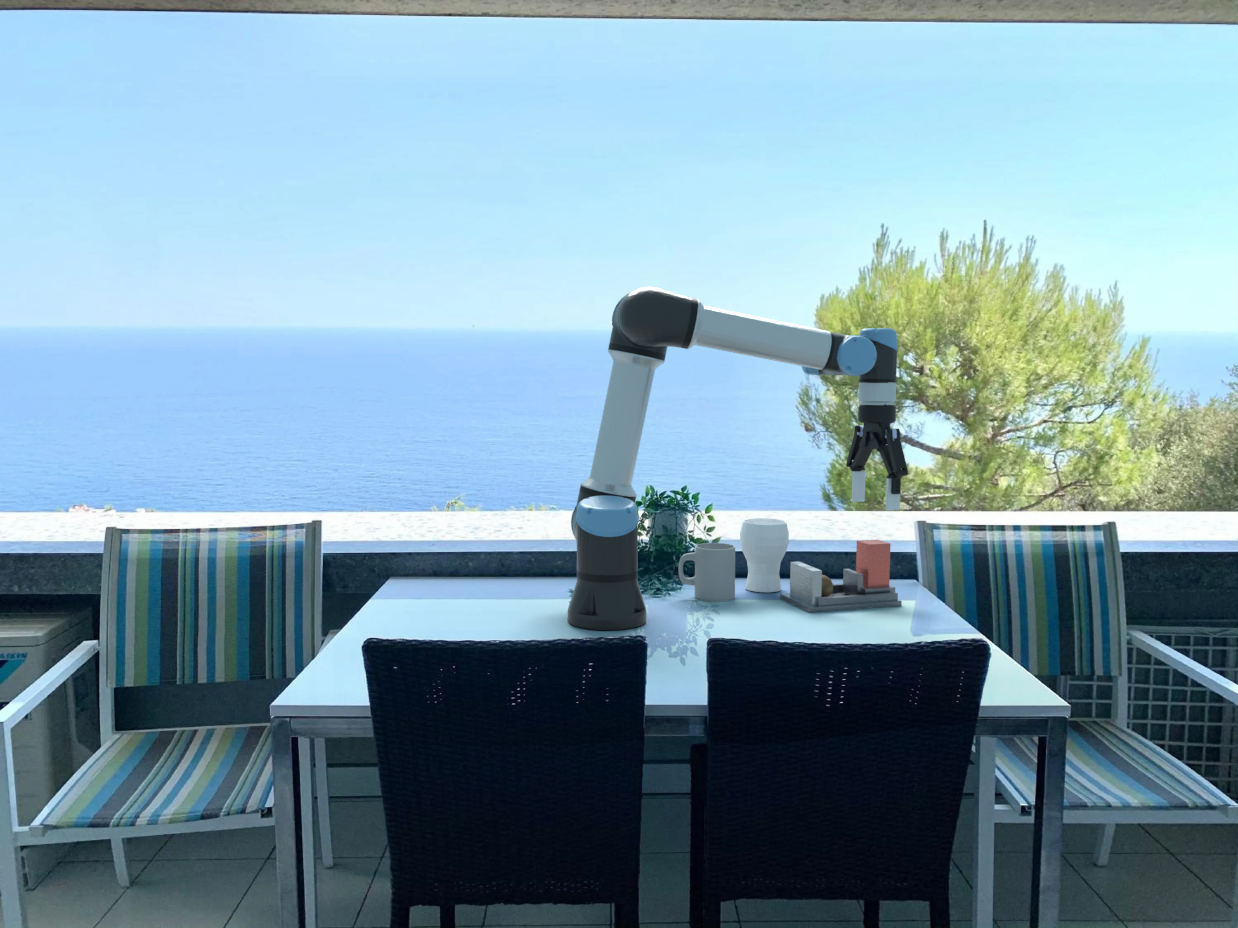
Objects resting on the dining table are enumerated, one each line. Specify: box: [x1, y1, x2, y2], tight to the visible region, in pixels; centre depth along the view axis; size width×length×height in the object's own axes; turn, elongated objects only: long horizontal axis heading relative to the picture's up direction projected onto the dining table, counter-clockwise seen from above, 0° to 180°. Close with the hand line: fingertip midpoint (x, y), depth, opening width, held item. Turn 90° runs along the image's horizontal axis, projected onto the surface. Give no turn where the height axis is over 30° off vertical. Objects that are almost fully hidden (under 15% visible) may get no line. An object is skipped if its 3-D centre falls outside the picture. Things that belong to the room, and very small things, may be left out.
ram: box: [842, 539, 896, 595], centre depth 215 cm, size 8×8×11 cm
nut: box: [821, 574, 834, 597], centre depth 212 cm, size 5×5×5 cm
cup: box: [739, 517, 790, 593], centre depth 225 cm, size 11×11×15 cm
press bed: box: [779, 561, 903, 613], centre depth 213 cm, size 21×13×8 cm, turn 107°
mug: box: [677, 542, 736, 603], centre depth 217 cm, size 12×8×11 cm
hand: (874, 505), depth 214 cm, fingers open, 13 cm apart
